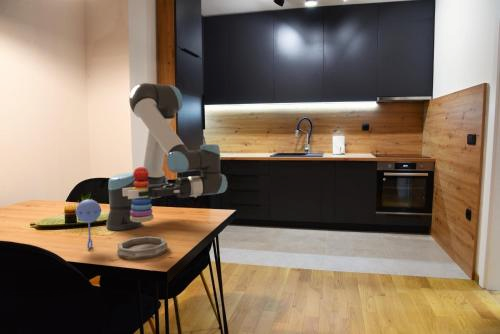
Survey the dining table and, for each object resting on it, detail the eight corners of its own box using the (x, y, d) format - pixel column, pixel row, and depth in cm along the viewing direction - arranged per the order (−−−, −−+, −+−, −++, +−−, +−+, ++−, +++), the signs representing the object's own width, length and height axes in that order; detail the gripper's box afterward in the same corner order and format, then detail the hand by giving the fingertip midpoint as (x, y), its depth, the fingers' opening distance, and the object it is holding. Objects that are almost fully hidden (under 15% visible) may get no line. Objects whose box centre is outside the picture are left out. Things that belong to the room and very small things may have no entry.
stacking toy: (147, 223, 125) (144, 168, 123) (125, 222, 127) (122, 168, 125) (157, 217, 133) (155, 166, 131) (137, 217, 135) (134, 165, 133)
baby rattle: (82, 244, 140) (80, 197, 138) (106, 243, 141) (103, 197, 139) (73, 252, 131) (70, 202, 130) (98, 251, 132) (96, 201, 130)
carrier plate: (106, 256, 126) (106, 248, 126) (138, 242, 142) (138, 234, 142) (147, 262, 120) (147, 253, 120) (176, 246, 136) (176, 238, 136)
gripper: (199, 200, 131) (134, 209, 119) (178, 193, 147) (118, 200, 134) (198, 179, 131) (132, 186, 118) (177, 174, 146) (117, 179, 134)
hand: (125, 193), depth 126 cm, fingers closed on stacking toy, 6 cm apart
